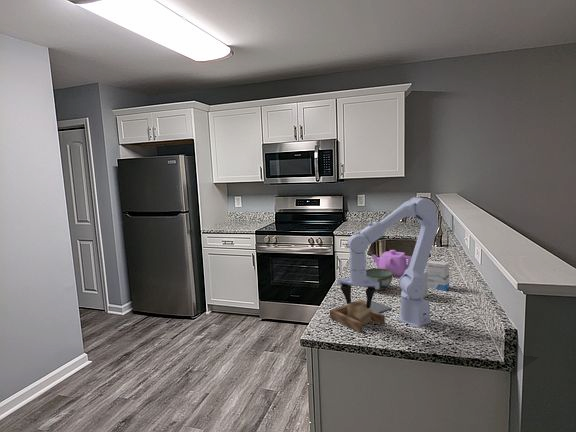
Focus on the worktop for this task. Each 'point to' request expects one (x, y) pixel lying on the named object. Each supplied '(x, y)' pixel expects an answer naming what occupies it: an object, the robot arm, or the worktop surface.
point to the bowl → (380, 277)
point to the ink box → (438, 275)
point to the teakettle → (393, 262)
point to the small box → (426, 283)
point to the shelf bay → (356, 325)
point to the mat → (379, 307)
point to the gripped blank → (359, 311)
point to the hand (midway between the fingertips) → (358, 306)
